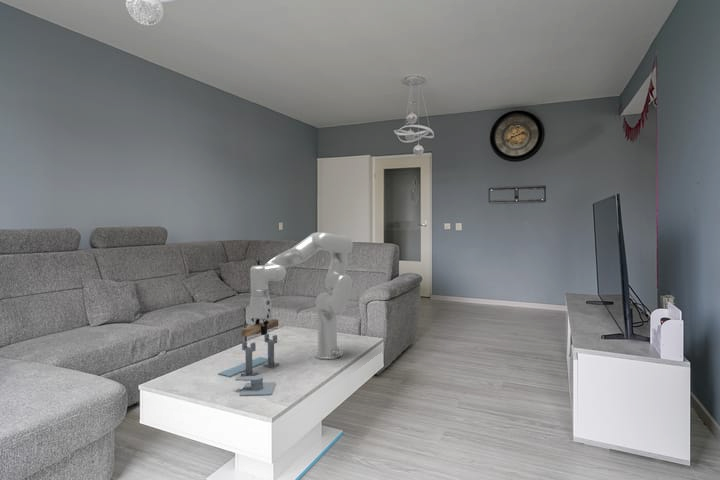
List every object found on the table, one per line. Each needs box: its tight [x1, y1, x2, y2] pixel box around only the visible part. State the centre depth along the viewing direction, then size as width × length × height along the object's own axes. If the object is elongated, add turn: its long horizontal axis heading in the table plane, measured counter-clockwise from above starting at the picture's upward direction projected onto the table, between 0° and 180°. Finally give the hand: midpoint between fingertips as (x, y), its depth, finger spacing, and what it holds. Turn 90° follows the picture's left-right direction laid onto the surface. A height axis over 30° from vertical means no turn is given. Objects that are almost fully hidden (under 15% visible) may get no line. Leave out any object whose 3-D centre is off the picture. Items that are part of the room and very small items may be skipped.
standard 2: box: [262, 333, 280, 369], centre depth 193 cm, size 6×5×14 cm
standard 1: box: [240, 340, 259, 377], centre depth 181 cm, size 6×5×14 cm
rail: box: [241, 318, 279, 337], centre depth 187 cm, size 3×20×3 cm, turn 150°
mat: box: [218, 356, 268, 378], centre depth 192 cm, size 7×26×1 cm, turn 150°
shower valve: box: [234, 375, 277, 397], centre depth 166 cm, size 12×6×15 cm
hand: (261, 333), depth 187 cm, fingers closed on rail, 3 cm apart
